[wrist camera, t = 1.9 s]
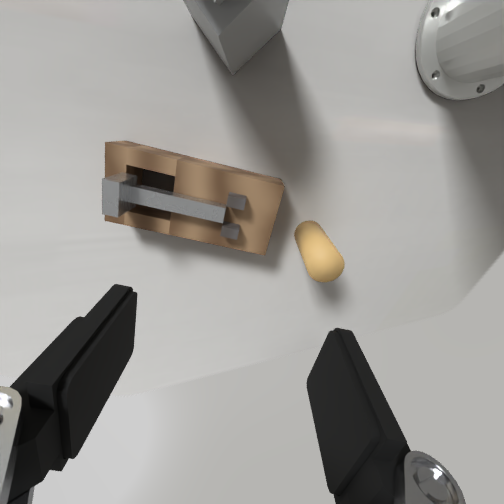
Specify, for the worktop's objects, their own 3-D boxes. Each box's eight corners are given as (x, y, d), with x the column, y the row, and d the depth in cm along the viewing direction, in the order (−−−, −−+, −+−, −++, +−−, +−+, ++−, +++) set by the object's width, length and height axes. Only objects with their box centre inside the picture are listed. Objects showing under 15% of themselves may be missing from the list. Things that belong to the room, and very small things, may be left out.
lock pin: (228, 197, 30) (224, 207, 26) (222, 226, 32) (218, 239, 28) (122, 172, 29) (102, 178, 25) (121, 203, 31) (102, 214, 27)
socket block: (280, 179, 34) (286, 189, 28) (263, 240, 38) (265, 262, 32) (125, 140, 33) (94, 142, 26) (123, 209, 36) (95, 226, 30)
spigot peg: (326, 224, 37) (350, 254, 28) (316, 249, 39) (336, 285, 30) (299, 217, 37) (314, 246, 28) (290, 243, 38) (302, 278, 29)
